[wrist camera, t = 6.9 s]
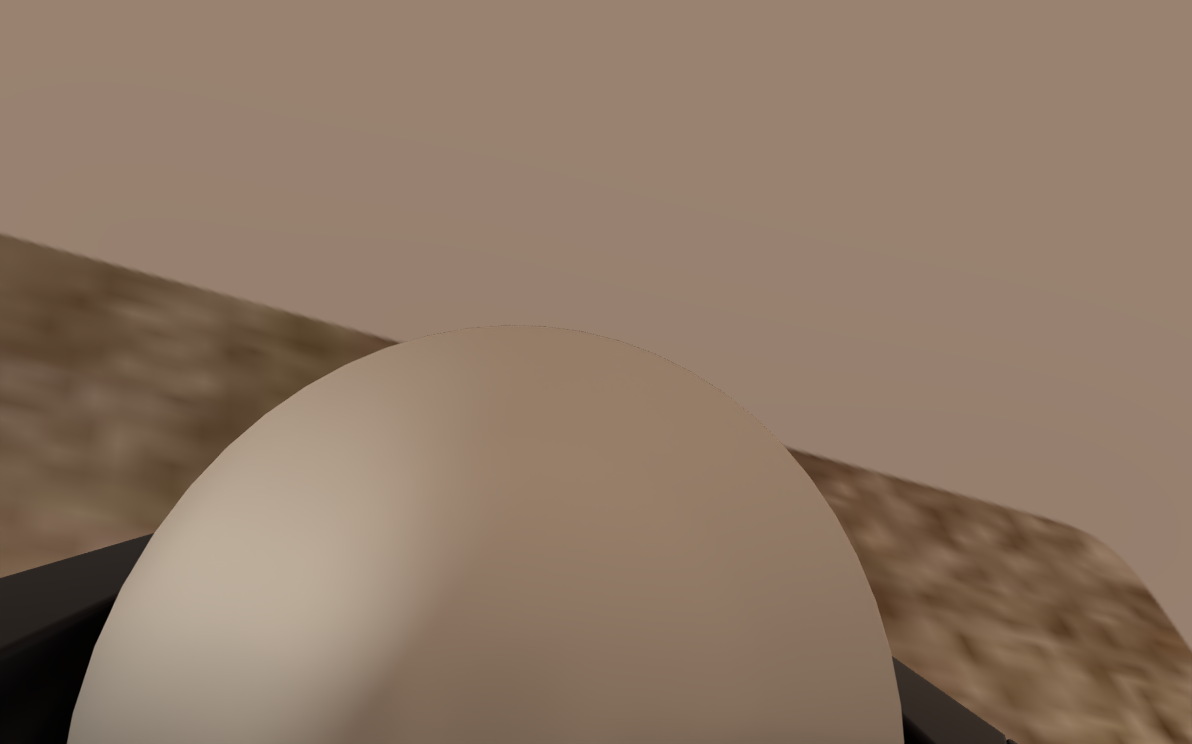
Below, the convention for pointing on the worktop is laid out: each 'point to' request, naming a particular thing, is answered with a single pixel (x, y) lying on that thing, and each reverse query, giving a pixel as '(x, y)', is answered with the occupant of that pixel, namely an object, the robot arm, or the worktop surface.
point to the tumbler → (497, 568)
